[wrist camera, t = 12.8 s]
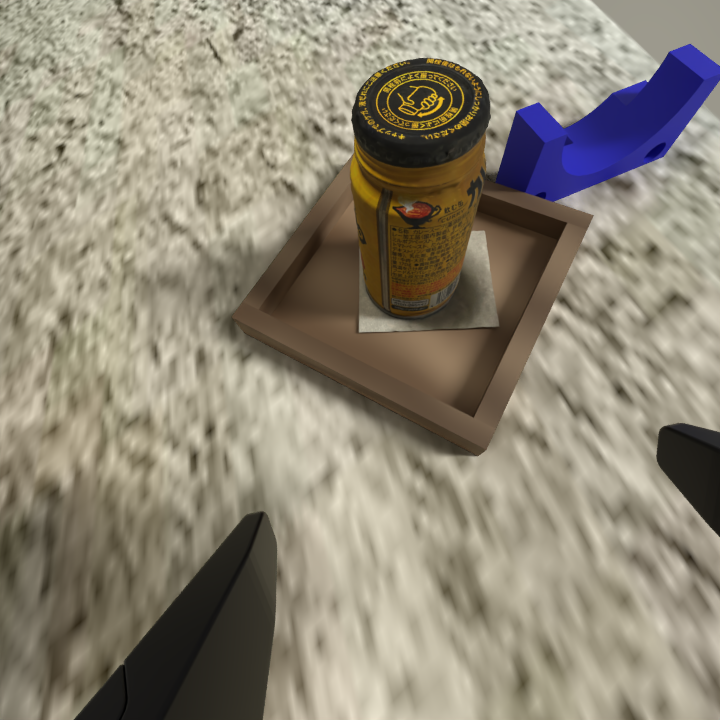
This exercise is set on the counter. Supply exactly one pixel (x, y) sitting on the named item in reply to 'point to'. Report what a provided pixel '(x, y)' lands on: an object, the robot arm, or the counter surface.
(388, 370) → the dock holder
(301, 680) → the counter surface
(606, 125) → the cable clip
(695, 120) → the counter surface
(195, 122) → the counter surface
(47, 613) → the counter surface
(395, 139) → the condiment
